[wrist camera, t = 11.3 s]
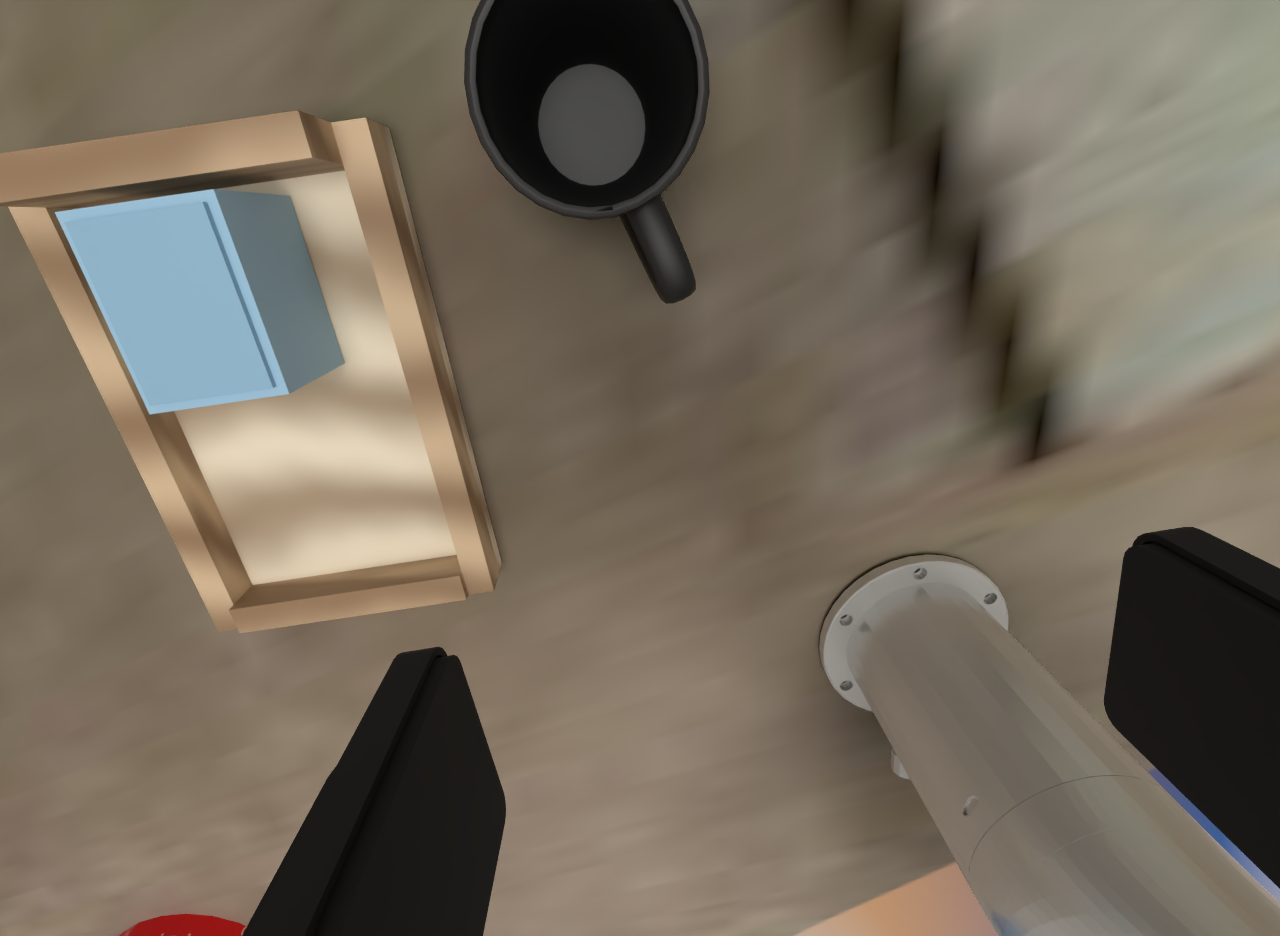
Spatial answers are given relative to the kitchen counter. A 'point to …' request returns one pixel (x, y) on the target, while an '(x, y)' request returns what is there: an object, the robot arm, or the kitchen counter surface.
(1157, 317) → the kitchen counter surface
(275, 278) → the light blue block
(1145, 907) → the robot arm
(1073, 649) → the kitchen counter surface
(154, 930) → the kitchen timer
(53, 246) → the tray
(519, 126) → the mug
